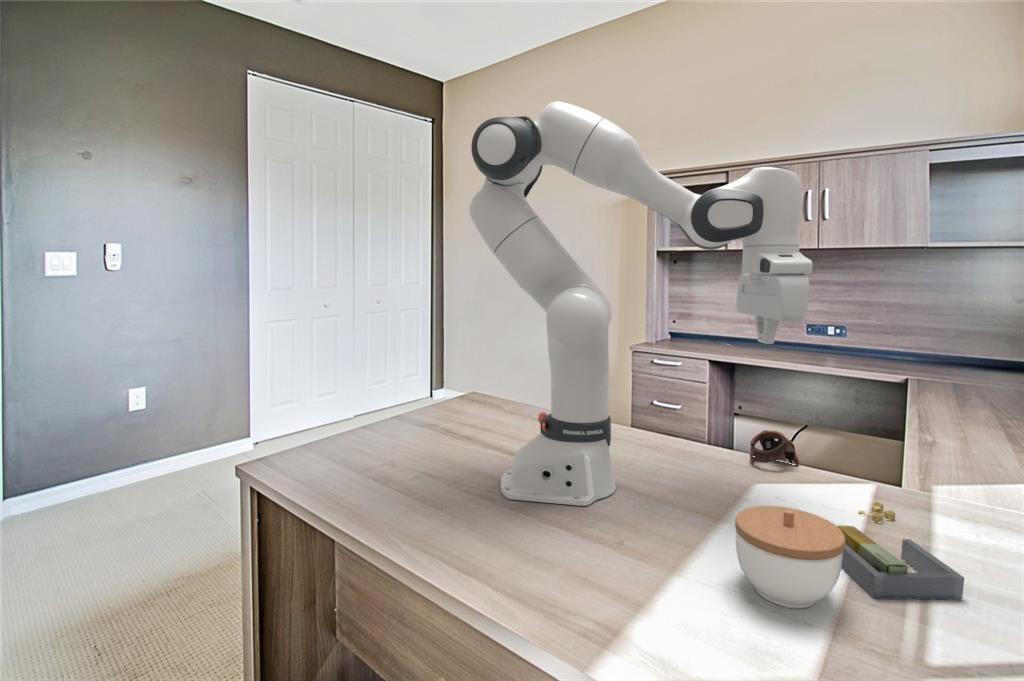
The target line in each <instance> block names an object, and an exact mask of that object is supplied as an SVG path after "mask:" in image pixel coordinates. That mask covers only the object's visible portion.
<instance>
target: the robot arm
mask: <svg viewBox="0 0 1024 681" xmlns="http://www.w3.org/2000/svg"><path fill="white" fill-rule="evenodd" d="M470 147H471V156H472V160H473V162H474V163H475V166H476V168H477V169H478V171H480V173H481V174H483V175H484V176H485V178H484V184H483V185H482V188H481V189H480V190H478V192H477V193H476V194H474V196H473V198H472V199H471V202H470V205H469V215H470V218H471V220H472V222H473V224H474V226H475V228H476V230H477V231H478V233H479V235H480V236H481V238H482V239H483V241H484V242H485V244H486V246H487V247H488V248H489V250H490V252H492V253H493V255H494V256H495V257H496V258H497V260H498V261H499V263H501V265H502V266H503V267H504V269H505V270H506V271H507V273H509V275H510V276H511V277H512V279H513V280H514V281H515V283H516V284H517V285H518V286H519V287H520V289H522V290H523V291H524V292H525V293H527V295H529V296H530V297H531V298H532V299H533V301H535V303H537V304H538V305H539V306H540V307H541V309H542V310H544V312H545V313H546V315H545V316H546V319H545V320H546V336H547V350H548V351H547V352H548V359H549V366H550V386H551V387H550V413H549V414H547V413H546V412H540V413H539V414H538V416H537V421H538V422H539V424H540V426H539V427H540V433H538V435H536V436H535V437H534V438H532V439H531V440H530V441H528V442H527V443H526V444H525V443H524V445H523V446H521V447H520V448H519V449H518V450H517V451H516V454H515V456H514V457H513V461H512V464H511V468H510V469H508V470H506V471H505V472H504V473H502V476H501V479H500V486H499V488H500V492H501V494H502V495H503V496H504V497H505V498H506V499H508V500H514V501H525V502H538V503H547V504H548V503H549V504H558V505H570V506H581V507H585V506H586V507H587V506H589V505H591V504H593V503H594V502H595V501H597V500H601V499H604V498H607V497H608V496H609V497H610V495H612V494H614V492H615V491H616V489H617V484H616V482H615V479H614V474H613V468H612V463H611V455H610V446H611V441H612V418H611V417H610V415H609V411H610V410H609V408H610V366H609V365H610V364H609V362H610V359H609V328H610V326H609V325H610V323H611V320H612V314H613V313H612V306H611V303H610V300H609V299H608V297H607V296H606V295H605V293H604V292H603V291H602V290H601V289H600V288H599V287H598V285H597V284H596V283H595V282H594V280H592V278H591V277H590V276H589V275H588V274H587V273H586V271H585V270H584V269H583V268H582V267H581V266H580V264H579V263H578V262H577V261H576V260H575V259H574V257H573V256H571V254H570V253H569V252H568V251H567V250H566V248H565V247H564V246H563V245H562V244H561V242H560V241H559V240H558V239H557V238H556V236H555V235H554V234H553V232H552V231H551V230H550V229H549V228H548V226H547V225H546V223H544V221H543V220H542V219H541V218H540V217H539V215H538V214H537V212H535V210H533V208H532V207H531V206H530V204H529V202H528V201H527V199H526V198H527V197H528V195H529V193H530V192H531V190H532V188H533V187H534V185H535V184H536V183H537V181H538V180H539V178H540V176H541V173H542V171H543V166H546V165H548V166H549V165H550V166H555V167H558V168H560V169H562V170H564V171H566V172H568V173H569V174H571V175H572V176H575V177H576V178H578V179H580V180H582V181H584V182H586V183H589V184H590V185H593V186H595V187H598V188H601V189H604V190H606V191H608V192H609V191H611V192H613V193H616V194H618V195H621V196H624V197H627V198H629V199H630V198H631V199H633V200H635V201H637V202H639V203H641V204H643V205H644V206H646V207H649V209H652V210H654V211H655V212H656V213H658V214H660V215H662V216H664V217H665V218H667V219H669V220H670V221H671V222H673V223H675V224H676V225H677V226H678V227H679V228H680V230H682V233H683V235H685V236H686V238H687V239H688V241H689V242H690V243H692V244H693V245H694V246H695V247H697V248H699V249H702V250H708V251H713V250H719V249H722V248H724V247H726V246H727V245H729V244H730V243H731V242H733V241H740V242H742V258H741V259H742V260H741V261H742V262H741V276H740V277H739V279H738V280H739V281H738V285H737V293H736V295H737V296H736V303H735V304H736V310H737V312H738V313H739V314H743V315H750V316H754V325H755V328H756V332H757V337H756V338H757V341H758V342H759V343H762V344H765V345H773V344H775V340H776V334H777V331H778V329H779V326H780V321H781V322H801V321H803V320H804V318H805V316H806V315H807V311H808V306H809V305H808V303H809V293H810V279H809V277H808V275H810V274H811V273H812V271H813V266H814V265H813V261H812V260H811V259H810V258H808V257H806V256H805V255H803V254H802V252H800V240H799V236H798V231H799V226H800V223H801V220H802V187H801V186H802V185H801V181H800V178H799V175H798V174H797V173H796V172H795V171H794V170H792V169H790V168H788V167H783V166H777V165H767V166H766V165H764V166H763V165H761V166H757V167H754V168H752V169H751V170H750V171H749V172H748V173H746V174H745V175H743V176H741V177H740V178H738V179H736V180H734V181H731V182H730V183H727V184H725V185H722V186H718V187H716V188H712V189H709V190H708V191H706V192H704V193H703V194H698V193H694V192H693V191H691V190H689V189H687V188H685V187H684V186H682V185H680V184H679V183H678V182H676V181H674V180H672V179H670V178H669V177H667V176H665V175H663V174H662V173H660V172H659V171H657V169H656V168H654V167H653V165H652V164H651V163H650V162H649V161H648V160H647V158H646V156H645V155H644V153H643V151H642V149H641V147H640V145H639V143H638V142H637V140H636V139H635V138H634V137H633V136H632V135H631V134H629V133H628V132H627V131H625V130H624V129H623V128H621V127H620V126H619V125H617V124H616V123H614V122H613V121H610V120H609V119H607V118H605V117H604V116H601V115H599V114H597V113H595V112H592V111H591V110H588V109H585V108H583V107H582V106H581V107H580V106H578V105H576V104H575V105H574V104H572V103H568V102H565V101H560V100H559V101H558V100H557V101H552V102H549V103H548V104H546V105H545V106H544V107H543V108H542V109H541V110H540V111H539V113H538V114H537V115H536V118H535V119H534V120H533V119H532V118H531V117H529V116H528V115H527V116H526V115H523V116H522V115H521V116H498V117H492V118H489V119H487V120H484V122H482V123H480V125H479V126H478V127H477V128H476V130H475V132H474V134H473V136H472V140H471V146H470Z"/></svg>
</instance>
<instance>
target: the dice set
mask: <svg viewBox="0 0 1024 681" xmlns="http://www.w3.org/2000/svg"><path fill="white" fill-rule="evenodd" d="M884 507H885V506H884V503H882V502H878V501H874V502H873V503H872V506H871V512H870V513H867V515H868V516H867V515H866V511H863V510H858V511H857V513H858V515H860V514H865V515H866V516H867V518H868V517H872V518H871V520H873V521H876V522H883V523H884V517H885V518H886V519H889V520H894V519H895V520H896V518H895V517H896V512H895V511H894V510H890V509H885V510H884ZM882 511H883V512H882ZM881 512H882V513H883V514H882V513H881ZM871 513H873V514H871ZM873 521H872V522H873Z"/></svg>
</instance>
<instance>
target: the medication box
mask: <svg viewBox="0 0 1024 681" xmlns="http://www.w3.org/2000/svg"><path fill="white" fill-rule="evenodd" d="M836 526H837V527H838V528H839V529H840V530H841V531H842V533H843V534H844V536H845V544H846V545H848V546H849V547H850V548H851V549H852V550H853V551H855V552H856V553H857V554H858V555H859V556H860V557H861V558H863V559H864V560H865V561H866V562H867V563H868V564H870V565H871V566H872V567H873V568H874V569H875V570H877V571H878V572H902V573H909V572H908V570H909V566H907V564H905V563H904V562H903V561H901V560H900V559H899V558H897V557H896V556H894V555H893V554H892V553H891V552H889V551H888V550H886V549H885V548H884V547H882V546H881V545H880V544H878V543H877V542H876V541H874V540H873V539H871V538H870V537H868V536H867V535H866V534H864V533H863V532H862V531H861V530H859V529H858V528H856V526H854V525H836Z"/></svg>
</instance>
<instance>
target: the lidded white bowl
mask: <svg viewBox="0 0 1024 681" xmlns="http://www.w3.org/2000/svg"><path fill="white" fill-rule="evenodd" d="M734 522H735V524H734V527H735V550H736V554H737V560H738V563H739V566H740V569H741V571H742V572H743V575H744V577H745V579H747V580H748V582H749V583H750V584H751V585H752V586H753V587H754V590H755V591H756V592H757V594H758V595H760V597H761V598H763V599H765V600H767V601H768V602H770V603H773V604H775V605H777V606H781V607H784V608H789V609H808V608H809V607H812V606H813V605H815V603H816V602H818V601H820V600H822V599H824V598H825V597H826V596H828V595H829V594H830V593H831V591H832V590H833V589H834V587H835V586H836V584H837V582H838V580H839V577H840V575H841V574H840V573H841V570H842V568H841V566H842V559H843V551H844V548H845V536H844V534H843V533H842V531H841V530H840V529H839V528H838V527H837V526H838V525H836V524H834V523H833V522H831V521H830V520H828V519H826V518H824V517H821V516H819V515H817V514H814V513H811V512H808V511H805V510H801V509H797V508H792V507H786V506H780V505H779V506H778V505H758V506H756V505H755V506H751V507H747V508H744V509H742V510H740V511H739V512H738V513H737V514H736V516H735V520H734Z"/></svg>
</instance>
